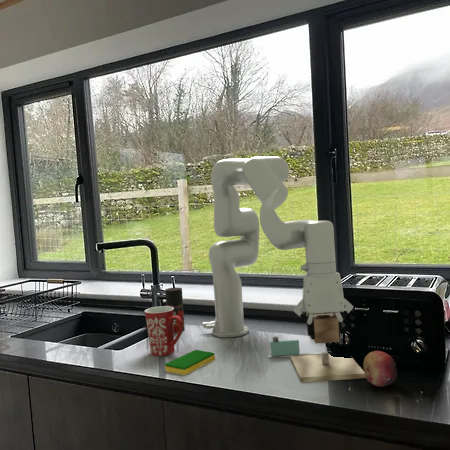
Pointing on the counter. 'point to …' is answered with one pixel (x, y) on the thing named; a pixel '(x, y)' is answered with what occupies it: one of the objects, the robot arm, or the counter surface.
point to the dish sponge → (189, 362)
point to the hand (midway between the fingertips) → (324, 336)
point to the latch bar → (284, 347)
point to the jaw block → (326, 328)
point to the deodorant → (175, 305)
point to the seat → (324, 367)
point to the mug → (162, 329)
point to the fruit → (380, 368)
